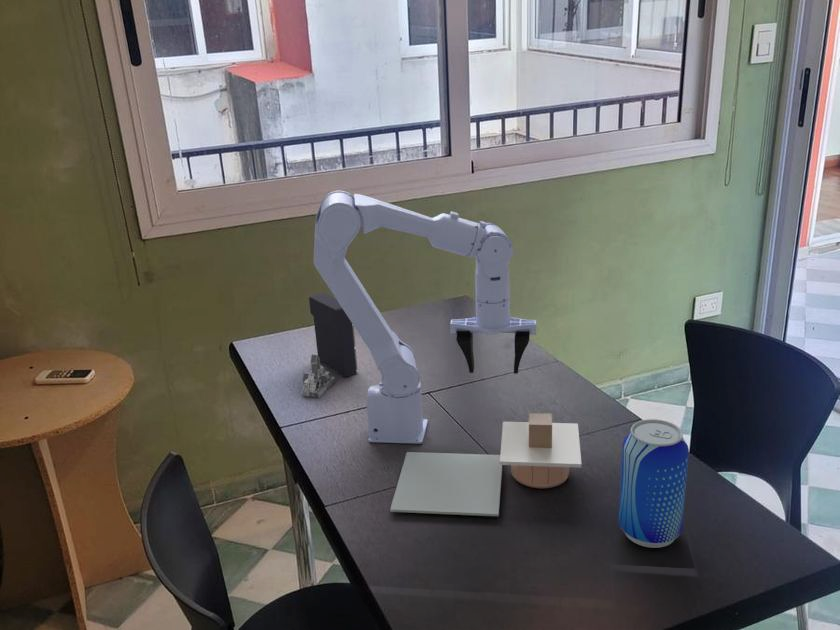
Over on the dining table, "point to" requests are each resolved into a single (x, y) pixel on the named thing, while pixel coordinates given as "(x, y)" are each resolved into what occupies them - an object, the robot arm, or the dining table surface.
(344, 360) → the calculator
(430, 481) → the mat
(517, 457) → the cover sheet
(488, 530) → the dining table surface
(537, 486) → the bowl
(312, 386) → the grey crystal cluster
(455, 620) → the dining table surface
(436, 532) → the dining table surface
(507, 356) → the dining table surface
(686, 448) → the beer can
